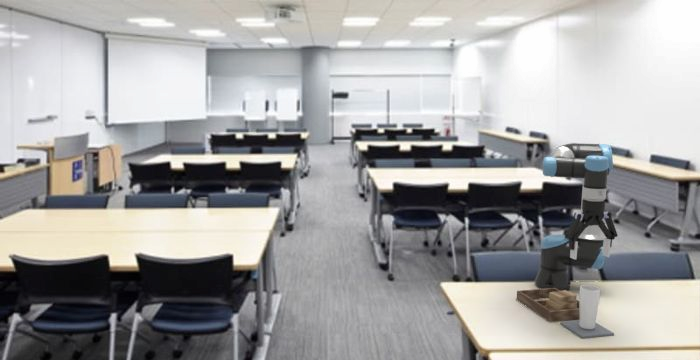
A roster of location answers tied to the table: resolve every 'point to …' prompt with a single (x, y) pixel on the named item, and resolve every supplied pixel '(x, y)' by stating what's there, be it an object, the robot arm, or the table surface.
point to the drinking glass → (588, 306)
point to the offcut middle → (560, 307)
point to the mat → (584, 333)
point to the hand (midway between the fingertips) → (589, 257)
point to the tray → (539, 305)
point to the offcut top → (562, 297)
